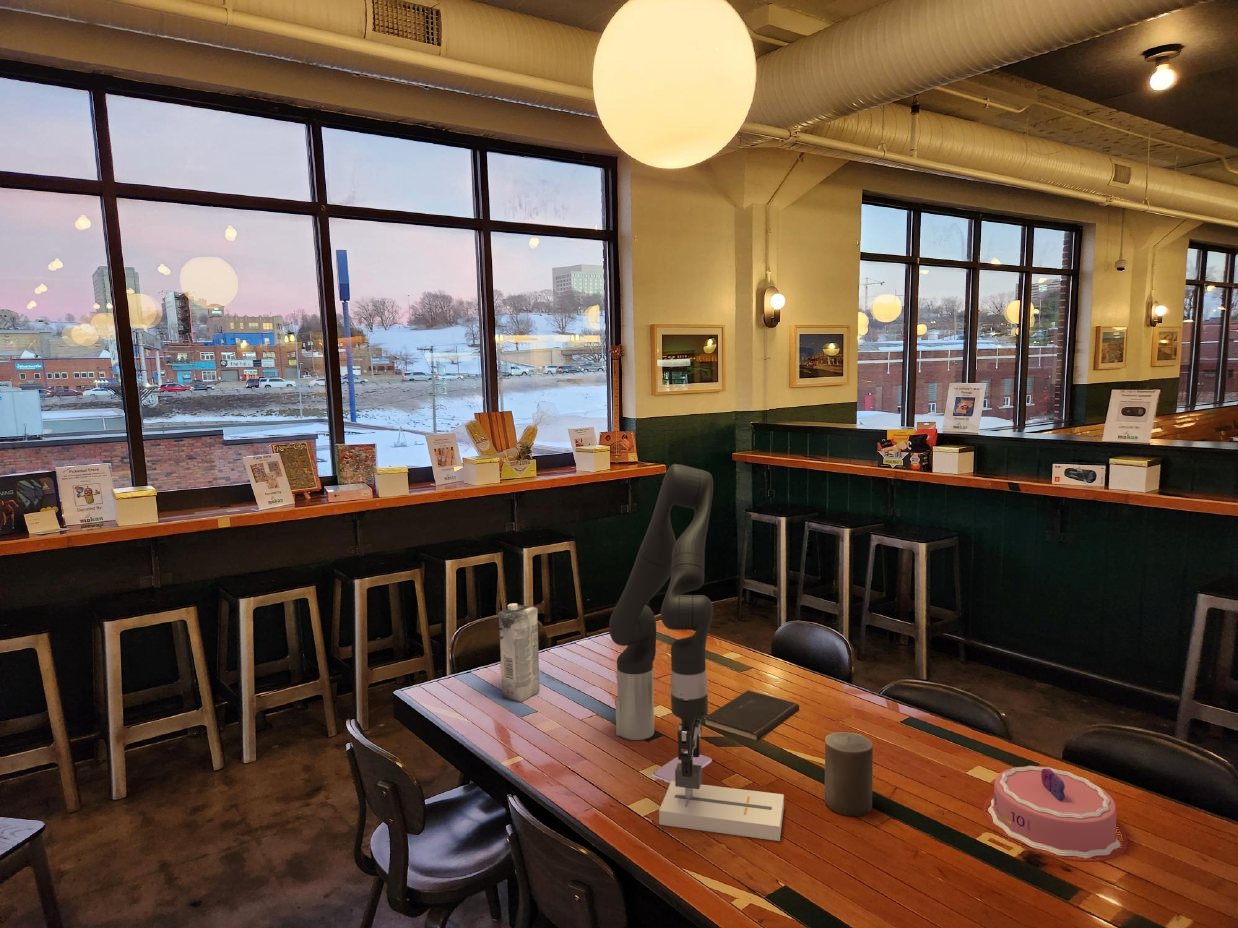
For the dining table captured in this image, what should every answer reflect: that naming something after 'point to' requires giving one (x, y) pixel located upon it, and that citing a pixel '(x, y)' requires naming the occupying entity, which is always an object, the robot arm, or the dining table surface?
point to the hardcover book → (752, 715)
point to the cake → (1056, 814)
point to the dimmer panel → (724, 811)
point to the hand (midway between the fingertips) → (691, 765)
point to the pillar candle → (848, 773)
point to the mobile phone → (668, 769)
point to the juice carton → (519, 652)
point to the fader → (688, 780)
